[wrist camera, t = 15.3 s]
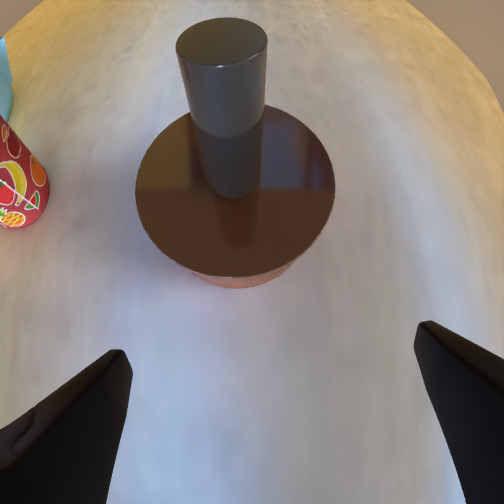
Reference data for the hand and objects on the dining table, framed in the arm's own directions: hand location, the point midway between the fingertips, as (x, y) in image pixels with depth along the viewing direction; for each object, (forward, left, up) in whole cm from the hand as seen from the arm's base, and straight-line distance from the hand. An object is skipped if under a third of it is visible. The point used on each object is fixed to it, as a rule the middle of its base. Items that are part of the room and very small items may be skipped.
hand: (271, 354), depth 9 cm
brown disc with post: (+2, +9, -7) cm, 12 cm away
